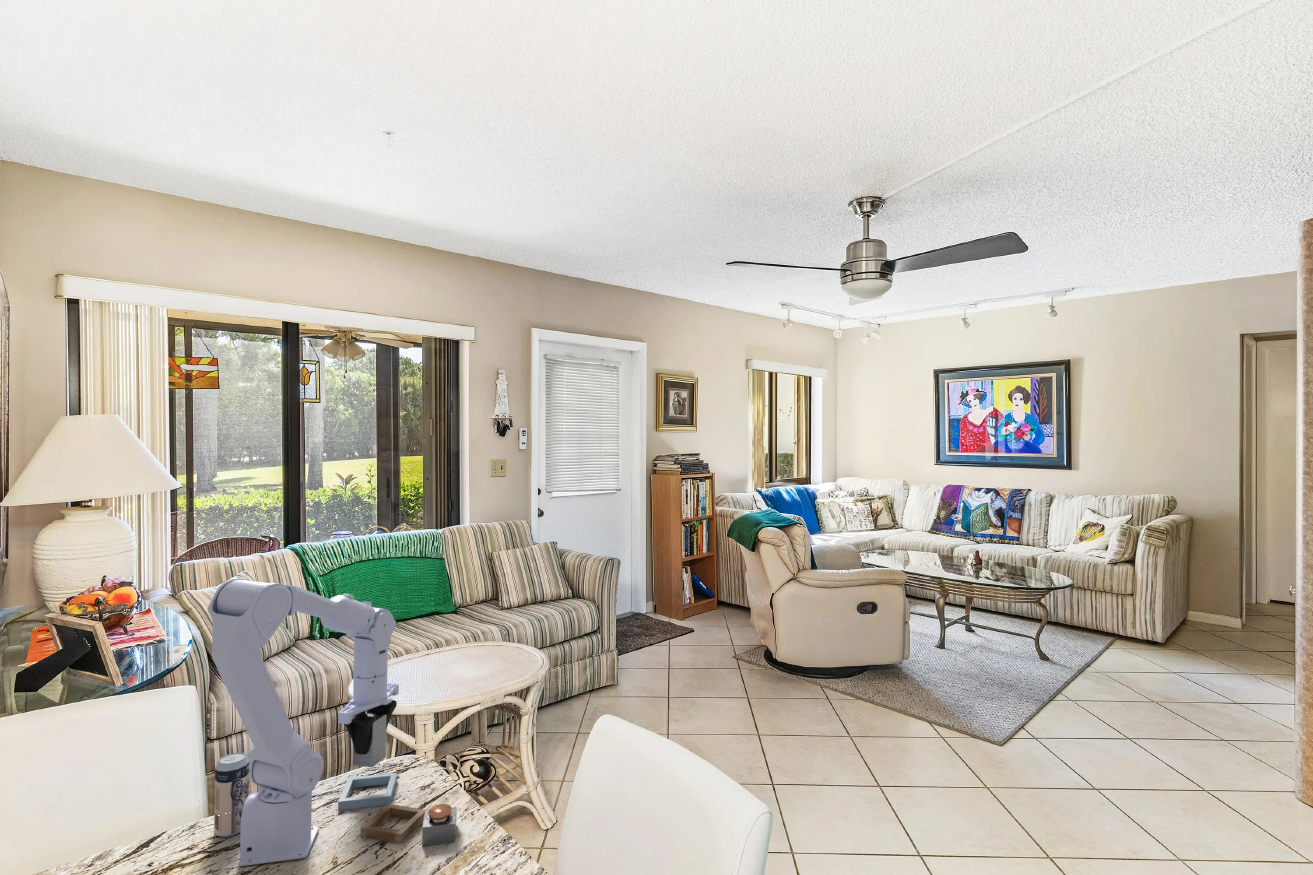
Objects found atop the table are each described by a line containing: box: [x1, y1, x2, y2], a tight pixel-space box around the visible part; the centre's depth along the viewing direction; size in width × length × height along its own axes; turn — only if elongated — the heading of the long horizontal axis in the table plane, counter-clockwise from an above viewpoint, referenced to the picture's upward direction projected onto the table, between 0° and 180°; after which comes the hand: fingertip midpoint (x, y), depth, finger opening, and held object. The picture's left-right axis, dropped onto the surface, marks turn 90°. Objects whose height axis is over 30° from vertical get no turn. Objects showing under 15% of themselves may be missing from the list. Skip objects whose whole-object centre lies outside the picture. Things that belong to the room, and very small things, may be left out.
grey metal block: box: [352, 711, 387, 768], centre depth 122 cm, size 4×4×8 cm
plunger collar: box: [421, 806, 457, 847], centre depth 110 cm, size 5×5×3 cm
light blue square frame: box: [337, 772, 398, 811], centre depth 122 cm, size 9×9×2 cm
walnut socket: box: [360, 804, 428, 844], centre depth 112 cm, size 7×7×2 cm
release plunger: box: [428, 803, 452, 823], centre depth 110 cm, size 4×4×4 cm
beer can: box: [213, 752, 250, 838], centre depth 110 cm, size 5×5×12 cm
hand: (369, 747), depth 122 cm, fingers closed on grey metal block, 4 cm apart
